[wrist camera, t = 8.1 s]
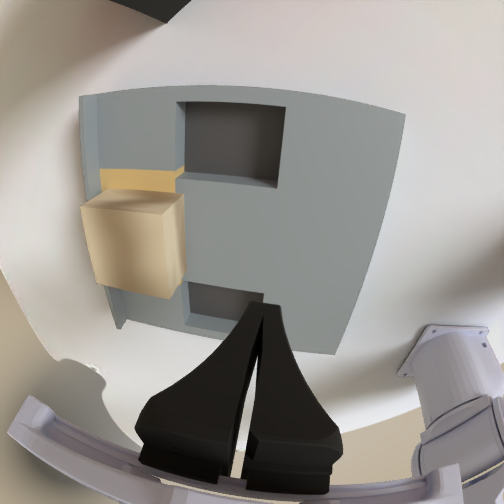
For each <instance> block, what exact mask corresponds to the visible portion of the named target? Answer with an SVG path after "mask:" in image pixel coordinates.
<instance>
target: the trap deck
mask: <svg viewBox="0 0 504 504" xmlns="http://www.w3.org/2000/svg"><path fill="white" fill-rule="evenodd" d="M405 116H406V114H403V113H399V112H396V111H392V110H388V109H385V108H381V107H377V106H373V105H369V104H364V103H360V102H355V101H351V100H346V99H341V98H336V97H330V96H324V95H318V94H312V93H305V92H298V91H290V90H281V89H271V88H259V87H244V86H216V85H195V86H166V87H151V88H140V89H130V90H122V91H114V92H107V93H100V94H93V95H85V96H79V126H80V145H81V158H82V169H83V178H84V186H85V194H86V201H87V202H88V201H89V200H91V199H92V198H94V197H96V196H97V195H99V194H100V193H102V192H103V191H105V190H107V189H108V188H115V189H132V190H146V191H160V192H172V193H183V194H184V217H185V245H186V265H187V271H186V272H185V274H184V276H183V278H182V279H181V281H180V283H179V285H178V286H177V288H176V290H175V292H174V294H173V295H172V297H171V299H170V300H169V299H164V298H159V297H154V296H149V295H145V294H140V293H135V292H131V291H127V290H122V289H118V288H114V287H109V286H105V285H104V287H105V291H106V295H107V298H108V302H109V305H110V308H111V312H112V315H113V318H114V321H115V325H116V328H117V329H121V328H122V326H123V324H124V323H125V321H126V320H127V319H129V320H133V321H137V322H141V323H145V324H149V325H153V326H157V327H161V328H166V329H170V330H175V331H179V332H184V333H189V334H193V335H198V336H203V337H209V338H214V339H219V340H225V338H226V337H227V336H228V335H229V334H230V332H231V331H232V330H233V328H234V327H235V326H236V324H237V323H238V321H239V320H240V318H241V317H242V315H243V313H244V312H245V310H246V308H247V306H248V304H249V302H251V301H255V302H262V303H269V304H276V305H280V306H281V310H282V318H283V323H284V328H285V331H286V335H287V338H288V341H289V344H290V347H291V350H292V351H300V352H309V353H319V354H330V355H335V353H336V351H337V348H338V346H339V344H340V342H341V339H342V337H343V334H344V332H345V330H346V327H347V325H348V322H349V320H350V317H351V314H352V312H353V309H354V307H355V304H356V301H357V299H358V296H359V293H360V291H361V288H362V285H363V282H364V279H365V276H366V273H367V270H368V267H369V264H370V261H371V258H372V255H373V252H374V249H375V246H376V242H377V239H378V236H379V232H380V229H381V225H382V222H383V218H384V215H385V211H386V207H387V203H388V199H389V195H390V191H391V187H392V183H393V179H394V174H395V170H396V165H397V160H398V155H399V150H400V145H401V140H402V134H403V128H404V122H405Z"/></svg>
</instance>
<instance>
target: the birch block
mask: <svg viewBox="0 0 504 504" xmlns="http://www.w3.org/2000/svg"><path fill="white" fill-rule="evenodd" d="M80 210H81V216H82V221H83V227H84V232H85V237H86V241H87V246H88V250H89V255H90V259H91V263H92V267H93V271H94V275H95V279H96V282H97V284H101V285H105V286H109V287H114V288H118V289H122V290H127V291H131V292H135V293H140V294H145V295H149V296H154V297H159V298H164V299H169V300H170V299H171V297H172V295H173V294H174V292H175V290H176V288H177V286H178V285H179V283H180V281H181V279H182V278H183V276H184V274H185V272H186V271H187V265H186V245H185V217H184V194H183V193H172V192H160V191H146V190H132V189H115V188H108V189H107V190H105V191H103V192H102V193H100V194H99V195H97V196H96V197H94V198H92V199H91V200H89V201H88V202H86V203H85V204H83V205H82V206H80Z"/></svg>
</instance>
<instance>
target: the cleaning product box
mask: <svg viewBox="0 0 504 504" xmlns="http://www.w3.org/2000/svg"><path fill="white" fill-rule="evenodd" d="M110 1H113V2H116V3H119V4H121V5H124V6H127V7H129V8H132V9H134V10H137V11H139V12H142V13H144V14H146V15H149V16H151V17H153V18H156V19H158V20H160V21H162V22H164V23H167V22H168V21H169V20H170V19H171V18H172V17H174V16H175V15H176V14H177V13H178V12H179V11H180V10H181V9H182V8H183V7H184V6H185V5H187V4H188V3H189V2H190V1H191V0H110Z"/></svg>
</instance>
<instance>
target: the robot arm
mask: <svg viewBox="0 0 504 504" xmlns="http://www.w3.org/2000/svg"><path fill="white" fill-rule="evenodd" d="M488 333H489V328H488V327H461V326H438V325H429V326H427V327H426V328H425V330H424V332H423V334H422V335H421V337H420V338H419V340H418V342H417V343H416V345H415V347H414V348H413V350H412V351H411V353H410V354H409V356H408V357H407V359H406V360H405V362H404V363H403V365H402V366H401V368H400V369H399V371H398V372H397V376H398V377H414V379H415V383H416V387H417V391H418V395H419V400H420V404H421V408H422V413H423V418H424V423H425V428H426V431H424V432H422V433H421V434H420V437H421V442H420V443H419V444H418V445H417V446H416V448H415V450H414V453H413V456H412V461H411V470H412V477H411V478H406V479H400V480H392V481H385V482H376V483H365V484H351V485H330V484H329V483H330V475H331V474H332V465H333V464H334V463H335V462H336V461H337V460H338V459H339V458H340V457H341V456H342V455H343V444H342V439H341V434H340V431H339V428H338V426H337V425H336V424H335V423H334V422H333V420H332V419H331V418H330V417H329V415H328V414H327V413H326V412H325V410H324V409H323V408H322V406H321V405H320V403H319V402H318V401H317V399H316V397H315V396H314V394H313V393H312V391H311V389H310V388H309V386H308V385H307V383H306V381H305V379H304V377H303V375H302V373H301V371H300V369H299V367H298V365H297V363H296V360H295V358H294V355H293V353H292V350H291V347H290V344H289V341H288V338H287V335H286V331H285V328H284V323H283V318H282V310H281V306H280V305H276V304H269V303H262V302H255V301H251V302H249V304H248V306H247V308H246V310H245V312H244V313H243V315H242V317H241V318H240V320H239V321H238V323H237V324H236V326H235V327H234V328H233V330H232V331H231V332H230V334H229V335H228V336H227V337H226V338H225V340H224V341H223V342H222V343H221V344H220V346H219V347H218V348H217V349H216V350H215V351H214V352H213V353H212V354H211V355H210V356H209V357H208V358H207V359H206V360H205V361H203V362H202V363H201V364H200V365H199V366H198V367H196V368H195V369H194V370H193V371H192V372H190V373H189V374H188V375H186V376H185V377H183V378H182V379H180V380H179V381H178V382H176V383H175V384H173V385H172V386H170V387H168V388H167V389H165V390H163V391H161V392H159V393H158V394H156V395H154V396H152V397H151V398H150V399H149V400H148V402H147V403H146V405H145V406H144V408H143V409H142V411H141V413H140V415H139V418H138V420H137V423H136V425H135V431H136V433H137V434H138V436H139V437H140V439H141V440H142V442H143V443H144V445H143V448H142V450H141V453H137V452H135V451H132V450H129V449H127V448H124V447H122V446H119V445H117V444H114V443H112V442H110V441H107V440H105V439H103V438H100V437H98V436H96V435H94V434H92V433H90V432H87V431H85V430H83V429H81V428H79V427H77V426H75V425H73V424H72V423H70V422H68V421H66V420H64V419H62V418H61V417H58V416H57V415H56V414H55V413H54V411H53V410H52V409H51V408H50V407H49V406H47V405H46V404H44V403H43V402H41V401H39V400H38V399H36V398H35V397H33V396H32V395H28V397H27V399H26V400H25V402H24V404H23V405H22V407H21V409H20V411H19V412H18V414H17V415H16V417H15V419H14V420H13V422H12V424H11V426H10V427H9V429H8V431H7V433H8V434H9V435H10V436H11V437H12V438H13V439H15V440H16V441H17V442H18V443H20V444H21V445H22V446H24V447H25V448H26V449H27V450H29V451H30V452H31V453H33V454H34V455H36V456H37V457H38V458H40V459H41V460H43V461H44V462H46V463H47V464H49V465H51V466H52V467H54V468H55V469H57V470H58V471H60V472H62V473H63V474H65V475H67V476H68V477H70V478H72V479H74V480H75V481H77V482H79V483H81V484H83V485H85V486H86V487H88V488H90V489H92V490H94V491H96V492H98V493H100V494H102V495H104V496H107V497H109V498H111V499H113V500H115V501H118V502H120V503H119V504H273V503H266V502H259V501H252V500H244V499H237V498H230V497H225V496H220V495H215V494H210V493H206V492H201V491H197V490H193V489H188V488H184V487H180V486H174V485H167V484H163V483H161V481H160V479H159V478H157V477H160V478H163V479H166V480H169V481H173V482H176V483H180V484H183V485H187V486H191V487H195V488H200V489H204V490H208V491H214V492H218V493H223V494H229V495H235V496H242V497H249V498H257V499H266V500H277V501H293V502H300V503H299V504H504V501H503V496H502V494H503V492H504V463H503V464H501V465H500V466H498V467H496V468H495V469H493V470H491V471H489V472H487V473H485V474H484V475H482V476H480V477H478V478H476V479H474V480H472V481H469V482H468V483H465V484H463V485H462V484H461V482H463V481H466V480H468V479H470V478H472V477H474V476H476V475H478V474H480V473H482V472H484V471H486V470H487V469H489V468H491V467H493V466H495V465H496V464H498V463H500V462H502V461H503V460H504V398H503V394H504V374H503V371H502V369H501V366H500V364H499V362H498V360H497V358H496V356H495V353H494V351H493V349H492V347H491V345H490V343H489V341H488V339H487V337H486V336H487V334H488ZM257 356H258V361H257V376H256V391H255V401H254V406H253V412H252V418H251V423H250V429H249V434H248V440H247V446H246V451H245V457H244V462H243V467H242V473H241V478H240V479H238V478H232V477H230V475H231V470H232V465H233V459H234V455H235V449H236V444H237V439H238V434H239V429H240V423H241V418H242V413H243V408H244V402H245V398H246V394H247V391H248V388H249V384H250V381H251V377H252V374H253V370H254V367H255V363H256V360H257ZM152 475H153V476H152ZM155 476H156V477H155Z"/></svg>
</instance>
